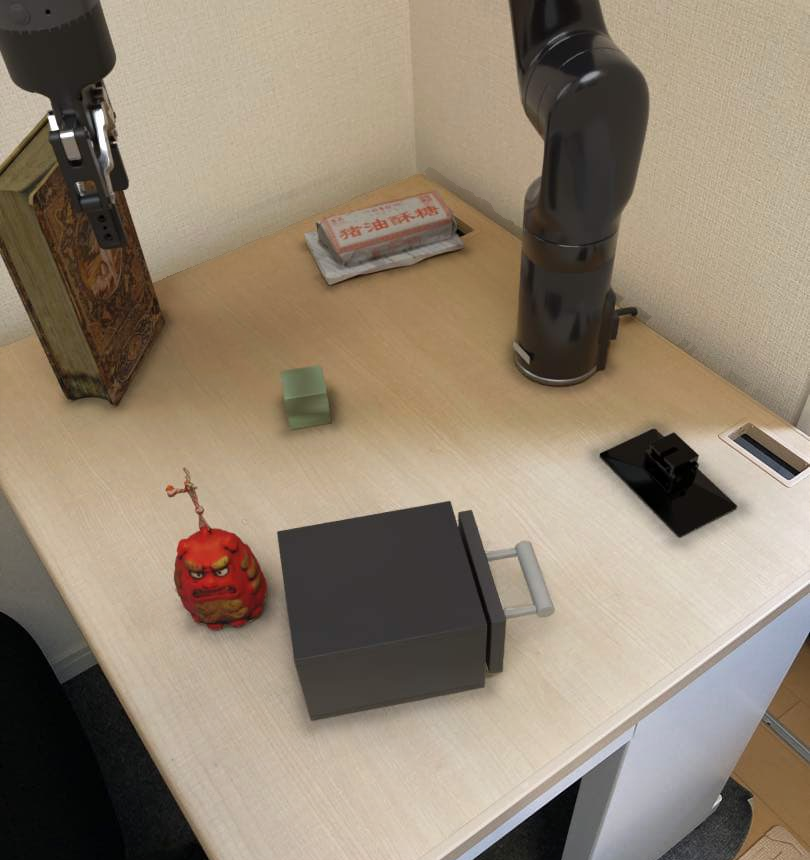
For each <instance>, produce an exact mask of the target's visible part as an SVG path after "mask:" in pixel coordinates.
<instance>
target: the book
mask: <svg viewBox="0 0 810 860" xmlns="http://www.w3.org/2000/svg"><path fill="white" fill-rule="evenodd" d="M49 131H51V128H50V123H49V119H48V114H47V113H45V115H44V116H43V117H42V118H41V119H40V120H39V121H38V123H37V124H36V125H35V126H34V127H33V129H31V131H30V132H29V133H28V134H27V135H26V136H25V137H24V138H23V140H22V141H21V142H20V143H18V145H17V146H16V148H14V150H13V151H11V153H10V154H9V155H8V156H7V158H6V159H4V161H3V162H2V163H1V164H0V257H1V259H2V261H3V264H4V266H5V268H6V270H7V272H8V274H9V277H10V279H11V281H12V283H13V285H14V288H15V290H16V293H17V294H18V296H19V299H20V301H21V303H22V305H23V308H24V310H25V312H26V314H27V317H28V318H29V321H30V323H31V326H32V327H33V330H34V332H35V335H36V336H37V338H38V341H39V342H40V345H41V347H42V349H43V352H44V354H45V356H46V358H47V360H48V363H49V364H50V367H51V369H52V371H53V374H54V376H55V378H56V380H57V383H58V385H59V388H60V389H61V391H62V393H63V394H64V396H65V398H66V399H67V400H70V401H74V400H76V399H81V398H84V397H97V398H102V399H105V400H107V401H108V402H109V404H111V405H115V406H117V405H118V404H119V403H120V401H121V400H122V398H123V396H124V395H125V394H126V391H127V390H128V388H129V386H130V384H131V383H132V381H133V379H134V378H135V376H136V374H137V372H138V371H139V369H140V367H141V365H142V363H143V362H144V360H145V359H146V357H147V355H148V353H149V351H150V349H151V348H152V346H153V344H154V343H155V341H156V339H157V337H158V335H159V334H160V332H161V330H162V329H163V327H164V325H165V323H166V322H165V321H166V320H165V318H164V315H163V312H162V308H161V306H160V302H159V299H158V296H157V292H156V290H155V286H154V283H153V280H152V277H151V274H150V270H149V268H148V264H147V262H146V258H145V255H144V253H143V252H144V251H143V249H142V245H141V242H140V239H139V236H138V232H137V230H136V226H135V223H134V220H133V217H132V214H131V211H130V207H129V204H128V201H127V198H126V195H125V192H124V191H125V190H123V191H116V192H114V194H115V203H116V206H117V208H118V211H119V214H120V217H121V220H122V223H123V226H124V229H125V232H126V235H127V245H126V246H125V247H121V248H115V249H108V250H104V249H101V248H100V247H99V245H98V243H97V240H96V237H95V235H94V232H93V229H92V227H91V224H90V221H89V219H88V216H87V213H81V214H77V213H76V210H75V209H74V208H73V204H72V200H71V197H70V194H69V191H68V189H67V186H66V183H65V181H64V178H63V175H62V172H61V170H60V167H59V164H58V161H57V159H56V156H55V153H54V151H53V148H52V145H51V144H50V143H49V139H48V137H49ZM84 186H85V190H93V189H96V186H95V183H94V182H93V181H84Z"/></svg>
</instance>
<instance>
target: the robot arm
mask: <svg viewBox="0 0 810 860" xmlns="http://www.w3.org/2000/svg"><path fill="white" fill-rule="evenodd" d="M600 2H601V1H600V0H507V4H508V9H509V16H510V23H511V24H510V25H511V33H512V41H513V42H512V44H513V50H514V60H515V71H516V77H517V78H516V79H517V86H518V94H519V98H520V102H521V105H522V108H523V109H522V110H523V112H524V114H525V116H526V117H527V120H528V122H529V123H530V124H531V125H532V128H534V130H535V131H536V132H537V134H538V135H539V137H540V138H541V139H542V140H543V157H542V160H543V161H542V167H541V175H540V176H538V177H537V178H535V179H534V180H533V181H532V182H531V184H529V186H528V187H527V189H526V191H525V195H524V200H523V201H524V202H523V216H522V231H521V232H522V233H521V249H520V264H519V265H520V267H519V282H518V283H519V284H518V299H517V315H516V316H517V317H516V331H515V333H516V334H515V340H513V344H512V348H513V349H514V351H513V352H514V353H513V360H514V363H515V366H516V367H517V369H518V370H519V372H521V374H523V375H524V376H525V377H526V378H528V379H530V380H532V381H534V382H536V383H538V384H542V385H546V386H554V387H564V386H571V385H576V384H579V383H582V382H583V381H586V380H588V379H589V378H591V377H592V376H593V375H594V374H595V373H596V372H597V371H600V370H601V371H602V370H605V369H606V367H607V361H608V360H607V359H608V353H609V347H610V341H613V340H614V341H615V340H617V338H618V334H619V333H618V332H619V326H620V320H621V318H620V317H622V316H626V315H631V316H632V317H637V315H638V313H639V311H638V308H637V307H636V306H629V307H622V308H618V309H617V308H616V304H617V294H616V292H615V290H614V289H613V287H612V279H613V273H614V265H615V260H616V252H617V245H618V239H619V238H618V237H619V234H620V233H619V231H620V225H621V220H622V215H623V212H624V210H625V209H626V207H627V205H628V204H629V202H630V200H631V199H632V196H633V194H634V191H635V187H636V183H637V178H638V173H639V170H640V166H641V165H640V164H641V160H642V154H643V151H644V145H645V142H646V136H647V131H648V127H649V126H648V125H649V119H650V106H651V104H650V101H651V99H650V89H649V84H648V82H647V79H646V77H645V75H644V74H643V72H642V71H641V70H640V68H639V67H638V65H636V64H635V62H633V60H631V59H630V57H628V56H627V54H625V52H623V50H622V49H621V48H620V47H619V46H618V45H617V44H616V43H615V42H614V40H613V38H612V37H611V35H610V33H609V31H608V27H607V24H606V21H605V18H604V13H603V10H602V6H601V3H600ZM0 54H1V55H0V56H1V57H2V60H3V62H4V64H5V67H6V70H7V73H8V75H9V77H10V79H11V81H12V83H13V84H14V85H15V86H16V87H18V88H19V89H21V90H23V91H25V92H28V93H31V94H38V95H41V96H44V97H45V98H48V99H49V101H50V107H51V109H49V110H47V111H46V114H48V119H49V123H50V128H51V131H49V137H48V139H49V143H50V144H51V145H52V148H53V151H54V153H55V156H56V159H57V161H58V164H59V167H60V170H61V172H62V175H63V178H64V181H65V183H66V186H67V189H68V191H69V194H70V197H71V200H72V204H73V208H74V209H75V210H76V213H77V214H81V213H87V216H88V219H89V221H90V224H91V227H92V229H93V232H94V235H95V237H96V240H97V243H98V245H99V247H100V248H101V249H104V250H108V249H115V248H121V247H125V246H126V245H127V235H126V232H125V229H124V226H123V223H122V220H121V217H120V214H119V211H118V208H117V206H116V203H115V194H114V192H116V191H127V190H128V189H129V187H130V178H129V175H128V173H127V170H126V167H125V164H124V161H123V157H122V155H121V152H120V148H119V145H118V143H117V142H118V139H119V138H118V137H119V133H118V130H117V125H116V123H117V120H116V119H117V115H116V111H114V109H113V105H112V102H111V99H110V96H109V93H108V90H107V87H106V84H105V81H104V79H105V78H106V77H107V76H109V75H110V74H111V73H112V71H113V70H114V69H115V66H116V63H117V53H116V50H115V46H114V43H113V39H112V36H111V33H110V30H109V26H108V23H107V20H106V17H105V13H104V10H103V6H102V3H101V0H0ZM84 181H93V182H94V183H95V186H96V189H93V190H85V186H84Z"/></svg>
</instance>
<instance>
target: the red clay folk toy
mask: <svg viewBox="0 0 810 860" xmlns="http://www.w3.org/2000/svg"><path fill="white" fill-rule="evenodd" d="M182 470H183V472H184V473H185V476H184V478H185V481H184V482H183V485H184V488H175V487H174V486H173V485H172V484H168V485H166V487H165V492H166V494H167V497H168V498H174V497H175V496H176V495H178V494H185V493H187V494H188V495H189V497H190V500H191V501H192V503H193V505H194V507H195V509H194V512H195V514H197V515H198V528H199V530H198V531H196V532H194V533H192V534H191V535H189V536H188V537H187V538H182V539H180V540H179V541H178V543H177V547H176V557H175V561H174V571H173V582H174V585H175V590H176V593H177V595H178V597H179V598H180V601H181V605H182V607H183V608H184V609H185V610H186V611H187V612H188V613H189V615H190V617H191V618H192V620H193V621H194V622H195V623H197V624H200V625H201V624H202V625H205V626H206V627H207V628H208V629H209V630H212V631H218V630H220V629H221V630H222V629H223V628H224V627H225V626H230V627H232V628H239V627H243V626H244V625H246V624H247V623H249V622H250V621H253V620H256V619H258V618H259V617H260V616H261V615H262V613H263V612H264V605H265V601H266V596H267V592H268V581H267V579H266V577H265V574H264V572H263V571H262V568H261V565H260V563H259V560H258V559H257V558H256V556H255V555H254V552H252V549H251V547H250V546H249V545H248V544H247V543H244V542H243V540H242V539H241V538H240V537H239V536H238V535H237V534H236V533H234V532H230V531H227V530H225V529H222V528H216V527H215V528H214V527H213V528H212V527H211V526H210V525H209V524H208V522H207V521H206V519H205V517H204V516H203V515H204V512H205V508H204V507H203V505H200V504H199V499H198V495H197V492H196V490H197V489H198V487H197V486H195V485H194V483H193V482H192V481H191V473H190V471H189V469H188V468H187V467H183V468H182Z"/></svg>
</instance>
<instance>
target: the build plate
mask: <svg viewBox="0 0 810 860" xmlns="http://www.w3.org/2000/svg"><path fill="white" fill-rule="evenodd" d="M699 457H700V455H699V453H697V452H696V450H694V449H693V448H692V447H691V446H690V445H689V444H688V443H686V441H684V440H683V439H682V438H681V436H679V435H678V433H676V432H671V433H669V434H667V435H664V434H663V433H662V432H660V431H659V430H658V429H656V428H651V429H649V430H647V431H645V432H643V433H641V434H639V435H636V436H634V437H632V438H630V439H627V440H626V441H623V442H621V443H619V444H617V445H614V446H613V447H611V448H608V449H606V450H604V451H602V452H600V453H599V459H600V460H601V461H603V463H604V464H605V465H606V466H607V467H608V468H609V469H611V471H612V472H613V473H614V474H615V476H617V477H618V478H619V479H620V480H621V481H622V482H623V483H624V484H625V485H626V486H627V487H628V488H629V489H630V490H631V491H632V492H633V494H635V496H637V498H639V500H640V501H641V502H643V504H645V506H646V507H647V508H648V509H649V510H650V511H651V512H652V513H653V514H654V515H655V516H656V517H657V518H658V519H659V520H660V521H661V523H663V524H664V525H665V526H666V527H667V528H668V530H670V531H671V532H672V533H673V535H675V537H677V538H678V539H682V538H683V537H685V536H687V535H689V534H691V533H693V532H695V531H697V530H699V529H701V528H703V527H705V526H707V525H709V524H711V523H713V522H715V521H717V520H719V519H721V518H723V517H724V516H726V515H729V514H731V513H733V512H735V511H736V510H737V509H738V505H737V504H736V503H735V502H734V501H733V500H732V499H731V498H730V497H729V496H728V495H727V494H725V492H724V491H722V490H721V489H720V488H719V487H718V486H717V485H716V484H715V483H714V482H713V481H712V480H711V479H710V478H708V476H706V475H705V474H704V473H703V472H702V471H701V470H700V469H699V467H700V463H699V462H698V461H699Z"/></svg>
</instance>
